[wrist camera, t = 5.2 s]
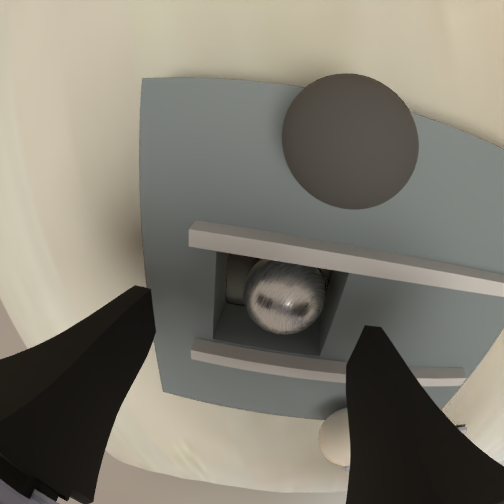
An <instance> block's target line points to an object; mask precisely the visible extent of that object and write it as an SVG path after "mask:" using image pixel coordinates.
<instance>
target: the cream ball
mask: <svg viewBox="0 0 504 504" xmlns="http://www.w3.org/2000/svg"><path fill="white" fill-rule="evenodd" d="M318 442H319V447H320V450H321V452H322V454H323V455H324V456H325V457H326V458H327V459H328V460H329V461H330V462H332V463H334V464H337V465H341V466H350V435H349V423H348V412H347V408H343V409H340V410H338V411H336V412H334V413H333V414H331V415H330V416H329V417H328V418H327V419H326V420H325V422H324V423H323V425H322V426H321V429H320V432H319V437H318Z"/></svg>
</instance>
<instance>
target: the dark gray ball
mask: <svg viewBox="0 0 504 504" xmlns="http://www.w3.org/2000/svg"><path fill="white" fill-rule="evenodd" d="M282 147H283V152H284V157H285V160H286V163H287V165H288V167H289V169H290V171H291V173H292V175H293V176H294V178H295V179H296V181H297V182H298V183H299V184H300V185H301V186H302V187H303V188H304V189H305V190H306V191H307V192H308V193H309V194H310V195H312V196H313V197H315V198H316V199H318V200H320V201H321V202H323V203H326V204H328V205H331V206H334V207H338V208H342V209H350V210H360V209H367V208H371V207H375V206H378V205H380V204H383V203H384V202H386V201H388V200H390V199H391V198H392V197H394V196H395V195H396V194H398V193H399V192H400V191H401V190H402V189H403V187H404V186H405V185H406V184H407V182H408V181H409V179H410V177H411V176H412V174H413V171H414V169H415V166H416V163H417V159H418V153H419V140H418V133H417V128H416V125H415V122H414V119H413V117H412V115H411V113H410V111H409V109H408V107H407V106H406V105H405V103H404V102H403V101H402V99H401V98H400V97H399V96H398V95H397V94H396V93H395V92H394V91H392V90H391V89H390V88H389V87H387V86H386V85H384V84H382V83H381V82H379V81H377V80H375V79H372V78H370V77H366V76H363V75H358V74H335V75H330V76H326V77H324V78H321V79H319V80H316V81H315V82H313V83H311V84H309V85H308V86H307V87H306V88H304V89H303V90H302V91H301V92H300V93H299V94H298V95H297V96H296V97H295V99H294V100H293V102H292V103H291V105H290V107H289V109H288V111H287V113H286V116H285V119H284V123H283V127H282Z"/></svg>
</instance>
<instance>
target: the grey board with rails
mask: <svg viewBox="0 0 504 504" xmlns="http://www.w3.org/2000/svg"><path fill="white" fill-rule="evenodd" d="M303 89H304V87H298V86H291V85H284V84H276V83H268V82H259V81H248V80H236V79H220V78H189V77H170V78H142V88H141V106H140V139H139V174H140V208H141V227H142V242H143V254H144V266H145V276H146V286H147V288H149V289H151V294H152V303H153V311H154V319H155V327H156V334H155V336H154V345H155V351H156V357H157V362H158V368H159V373H160V379H161V384H162V389H163V392H166V393H170V394H173V395H177V396H181V397H185V398H189V399H193V400H198V401H202V402H206V403H211V404H216V405H220V406H225V407H230V408H236V409H241V410H247V411H253V412H259V413H266V414H273V415H280V416H288V417H297V418H306V419H317V420H326V419H327V418H328V417H329V416H330V415H331V414H333V413H334V412H336V411H338V410H340V409H343V408H347V401H346V364H347V362H348V360H349V358H350V356H351V354H352V352H353V350H354V348H355V346H356V343H357V341H358V339H359V337H360V335H361V332H362V330H363V328H364V326H365V325H368V326H377V327H382V329H383V330H384V332H385V333H386V334H387V336H388V337H389V339H390V340H391V342H392V343H393V345H394V346H395V348H396V349H397V351H398V352H399V354H400V355H401V357H402V358H403V360H404V361H405V363H406V364H407V366H408V367H409V369H410V370H411V372H412V373H413V374H414V376H415V377H416V379H417V380H418V382H419V383H420V384H421V386H422V387H423V388H424V390H425V391H426V392H427V394H428V395H429V396H430V398H431V399H432V400H433V401H434V403H435V404H436V405H437V406H438V407H439V409H440V410H441V409H442V408H443V407H444V406H445V405H446V404H447V403H448V401H449V400H450V399H451V398H452V397H453V396H454V395H455V393H456V392H457V391H458V390H459V389H460V387H461V386H462V385H463V384H464V383H465V381H466V380H467V379H468V378H469V376H470V375H471V374H472V372H473V371H474V370H475V368H476V367H477V366H478V365H479V363H480V362H481V360H482V359H483V358H484V356H485V355H486V354H487V352H488V351H489V349H490V348H491V346H492V345H493V343H494V342H495V340H496V339H497V337H498V336H499V334H500V333H501V331H502V330H503V328H504V149H502V148H500V147H498V146H496V145H494V144H492V143H489V142H487V141H485V140H483V139H480V138H478V137H476V136H473V135H471V134H469V133H466V132H464V131H461V130H459V129H456V128H454V127H451V126H448V125H446V124H443V123H440V122H438V121H435V120H432V119H429V118H426V117H423V116H420V115H417V114H414V113H411V112H410V113H411V115H412V117H413V119H414V122H415V125H416V128H417V133H418V140H419V153H418V159H417V163H416V166H415V169H414V171H413V174H412V176H411V177H410V179H409V181H408V182H407V184H406V185H405V186H404V187H403V189H402V190H401V191H400V192H399V193H398V194H396V195H395V196H394V197H392V198H391V199H390V200H388V201H386V202H384V203H383V204H380V205H378V206H375V207H371V208H367V209H360V210H350V209H342V208H338V207H334V206H331V205H328V204H326V203H323V202H321V201H320V200H318V199H316V198H315V197H313V196H312V195H310V194H309V193H308V192H307V191H306V190H305V189H304V188H303V187H302V186H301V185H300V184H299V183H298V182H297V181H296V179H295V178H294V176H293V175H292V173H291V171H290V169H289V167H288V165H287V163H286V160H285V157H284V152H283V147H282V127H283V123H284V119H285V116H286V113H287V111H288V109H289V107H290V105H291V103H292V102H293V100H294V99H295V97H296V96H297V95H298V94H299V93H300V92H301V91H302V90H303ZM229 253H231V254H237V255H243V256H249V257H255V258H261V259H268V260H274V261H280V262H286V263H292V264H298V265H304V266H310V267H317V268H323V269H329V270H333V271H332V274H331V278H330V281H329V284H328V288H327V291H326V299H325V304H324V307H323V309H322V312H321V313H320V315H319V317H318V318H317V319H316V321H315V322H314V323H313V324H311V325H310V326H309V327H308V328H306V329H304V330H302V331H300V332H298V333H294V334H288V335H280V334H274V333H271V332H268V331H266V330H264V329H262V328H261V327H260V326H258V325H257V324H256V323H255V322H254V321H253V320H252V319H251V317H250V316H249V314H248V312H247V310H246V308H245V306H241V305H235V304H229V303H225V296H226V282H227V269H228V256H229Z"/></svg>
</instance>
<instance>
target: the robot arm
mask: <svg viewBox="0 0 504 504" xmlns="http://www.w3.org/2000/svg"><path fill="white" fill-rule="evenodd" d="M155 334H156V327H155V319H154V311H153V303H152V294H151V289H149V288H145V287H140V286H136V285H135V286H133V287H132V288H130V289H129V290H127V291H126V292H124V293H123V294H121V295H120V296H118V297H117V298H115V299H114V300H112V301H111V302H109V303H108V304H106V305H105V306H103V307H102V308H100V309H99V310H97V311H96V312H94V313H93V314H91V315H90V316H88V317H87V318H85V319H84V320H82V321H80V322H79V323H77V324H75V325H74V326H72V327H70V328H69V329H67V330H66V331H64V332H62V333H60V334H59V335H57V336H55V337H53V338H51V339H49V340H47V341H45V342H43V343H41V344H39V345H37V346H34V347H32V348H30V349H27V350H25V351H22V352H20V353H17V354H15V355H13V356H9V357H6V358H3V359H0V504H59V503H57V502H56V501H57V498H58V497H60V498H62V499H64V500H66V501H68V500H69V497H71V498H73V499H75V500H77V501H78V502H80V503H82V504H89V503H92V502H93V500H94V494H95V489H96V484H97V479H98V474H99V470H100V466H101V462H102V459H103V455H104V452H105V448H106V445H107V442H108V439H109V436H110V433H111V430H112V427H113V424H114V422H115V419H116V416H117V413H118V411H119V409H120V407H121V405H122V403H123V401H124V399H125V397H126V395H127V393H128V391H129V389H130V387H131V385H132V384H133V382H134V380H135V378H136V376H137V374H138V372H139V370H140V368H141V367H142V365H143V363H144V361H145V359H146V357H147V355H148V352H149V350H150V347H151V345H152V342H153V339H154V336H155ZM346 401H347V412H348V423H349V435H350V466H345V470H346V471H349V483H348V492H347V500H346V504H504V466H502V465H501V464H499V463H498V462H496V461H495V460H493V459H492V458H491V457H489V456H488V455H487V454H486V453H484V452H483V451H482V450H481V449H479V448H478V447H477V446H476V445H475V444H474V443H472V442H471V441H470V440H469V439H468V438H467V437H466V436H465V435H464V433H466V431H467V428H466V427H459V428H457V427H456V426H455V425H454V424H453V423H452V422H451V421H450V420H449V419H448V418H447V417H446V415H445V414H444V413H443V412H442V411H441V410H440V409H439V407H438V406H437V405H436V404H435V403H434V401H433V400H432V399H431V398H430V396H429V395H428V394H427V392H426V391H425V390H424V388H423V387H422V386H421V384H420V383H419V382H418V380H417V379H416V377H415V376H414V374H413V373H412V372H411V370H410V369H409V367H408V366H407V364H406V363H405V361H404V360H403V358H402V357H401V355H400V354H399V352H398V351H397V349H396V348H395V346H394V345H393V343H392V342H391V340H390V339H389V337H388V336H387V334H386V333H385V332H384V330H383V329H382V327H377V326H368V325H365V326H364V328H363V330H362V332H361V335H360V337H359V339H358V341H357V343H356V346H355V348H354V350H353V352H352V354H351V356H350V358H349V360H348V362H347V364H346Z"/></svg>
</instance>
